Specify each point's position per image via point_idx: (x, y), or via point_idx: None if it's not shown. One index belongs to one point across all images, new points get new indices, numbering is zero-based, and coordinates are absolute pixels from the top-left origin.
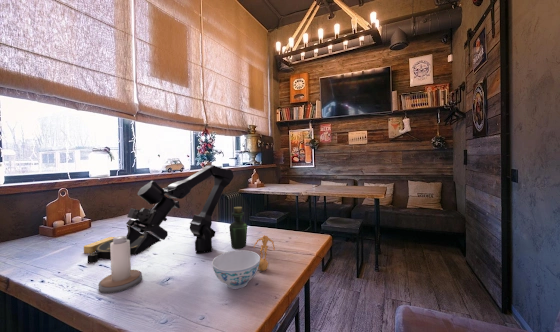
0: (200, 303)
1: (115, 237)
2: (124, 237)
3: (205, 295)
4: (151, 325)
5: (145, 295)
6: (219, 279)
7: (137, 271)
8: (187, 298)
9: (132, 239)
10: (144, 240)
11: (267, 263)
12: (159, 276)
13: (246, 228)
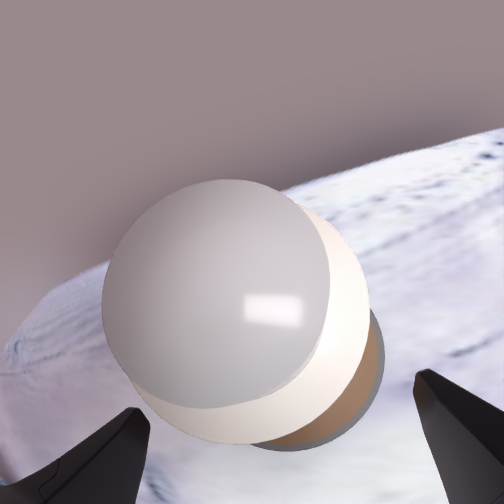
0: (13, 422)
1: (293, 213)
2: (129, 342)
3: (24, 451)
4: (23, 326)
5: (110, 383)
6: (2, 478)
7: (292, 437)
8: (34, 427)
9: (459, 485)
10: (31, 477)
11: None
12: (211, 491)
13: None
